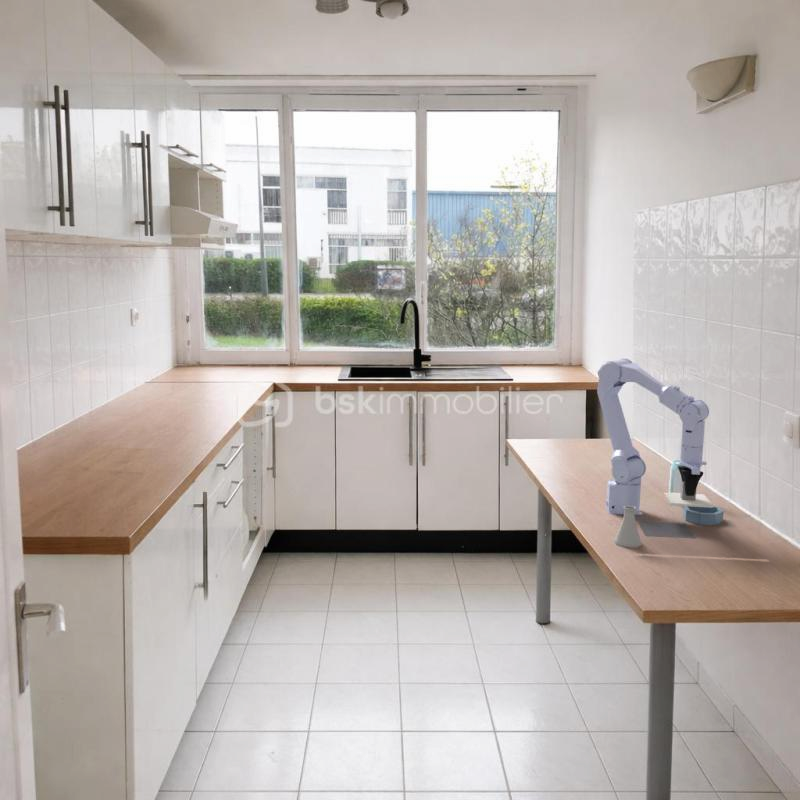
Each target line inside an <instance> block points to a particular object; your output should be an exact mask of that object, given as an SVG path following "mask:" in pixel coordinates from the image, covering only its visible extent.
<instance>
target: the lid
mask: <svg viewBox="0 0 800 800" xmlns="http://www.w3.org/2000/svg"><path fill="white" fill-rule="evenodd" d="M663 496H664V497H665V499H666V500H667V502H668V504H669V505H670V506H678V507H679V506H680V507H683V506H692V507H709V508H713V506H714V505H713V504H712V502H711V501H710V500H709V499H708V497H707V496H706V495H705V494H701V493H697V490H696V491H695V494H694V496H686V493H685V484H684V481H681V493H670V492H669V491H668V492H666V491H665V492H663Z"/></svg>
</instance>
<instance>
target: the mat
mask: <svg viewBox="0 0 800 800" xmlns="http://www.w3.org/2000/svg"><path fill="white" fill-rule="evenodd" d="M637 522H638V526H639V527H640V529H641V530H642V532H643V534H644V536H645V537H660V538H661V537H662V538H682V539H683V538H685V539H696V538H697V537H696V535H695V534H694V533H693V531H692V530H691V528H690V527H689V526H688V524H687V523H686V522H669V521H668V522H667V521H644V520H643V521H642V520H638V521H637Z"/></svg>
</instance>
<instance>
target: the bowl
mask: <svg viewBox="0 0 800 800" xmlns="http://www.w3.org/2000/svg"><path fill="white" fill-rule="evenodd" d="M682 517H683V519H684V521H686V522H689V523H693V524H696V525H706V526H717V525H718V524H721V523H723V522H724V511H723V509H722V508H721V507H719V506H716V505H713V508H709V507H692V506H682Z"/></svg>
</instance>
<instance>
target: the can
mask: <svg viewBox="0 0 800 800" xmlns="http://www.w3.org/2000/svg"><path fill="white" fill-rule="evenodd" d="M679 460H680V459H679ZM679 460H678V459H677V460H674V461H672V464H671V466H670V467H669V483H668V492H670V493H681V481H682V478H681V474H680V471H679V469H678V466H683V465H681V464H680V463H679Z"/></svg>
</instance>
